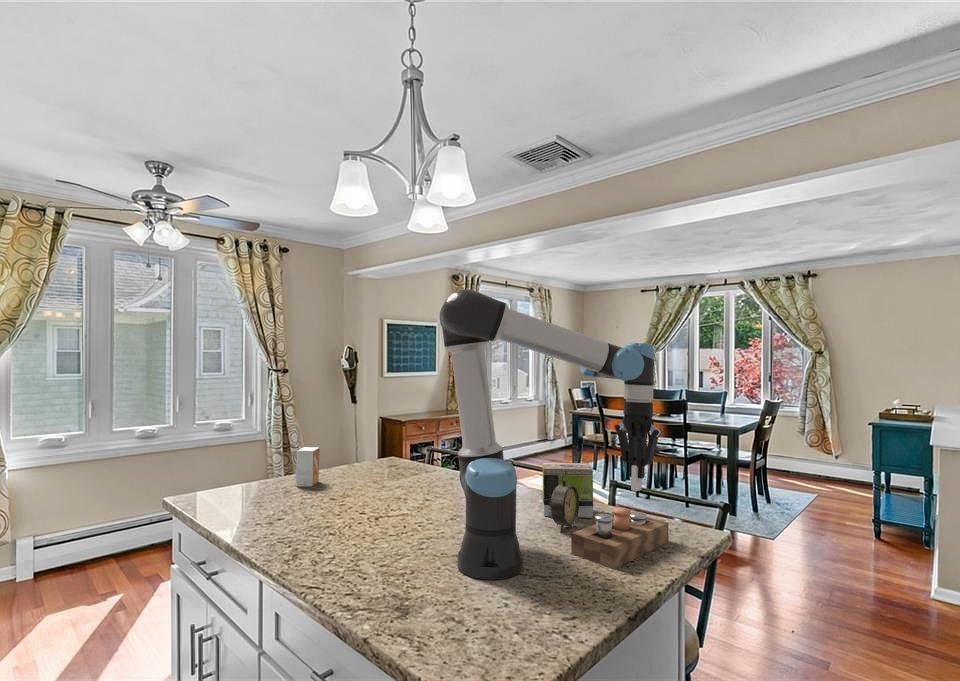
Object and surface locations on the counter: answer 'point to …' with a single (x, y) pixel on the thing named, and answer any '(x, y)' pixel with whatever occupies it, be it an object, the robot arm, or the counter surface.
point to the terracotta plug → (621, 519)
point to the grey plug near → (604, 526)
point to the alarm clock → (564, 504)
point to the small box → (307, 466)
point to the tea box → (577, 477)
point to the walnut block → (619, 543)
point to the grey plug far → (638, 518)
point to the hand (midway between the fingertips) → (636, 489)
